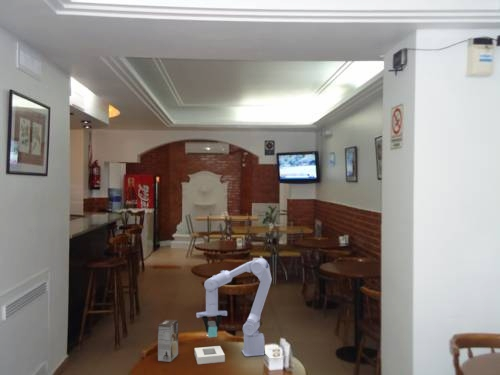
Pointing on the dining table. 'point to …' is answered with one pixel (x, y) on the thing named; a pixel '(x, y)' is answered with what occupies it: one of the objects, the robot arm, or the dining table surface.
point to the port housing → (209, 355)
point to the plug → (212, 329)
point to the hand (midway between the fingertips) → (211, 331)
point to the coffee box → (167, 340)
